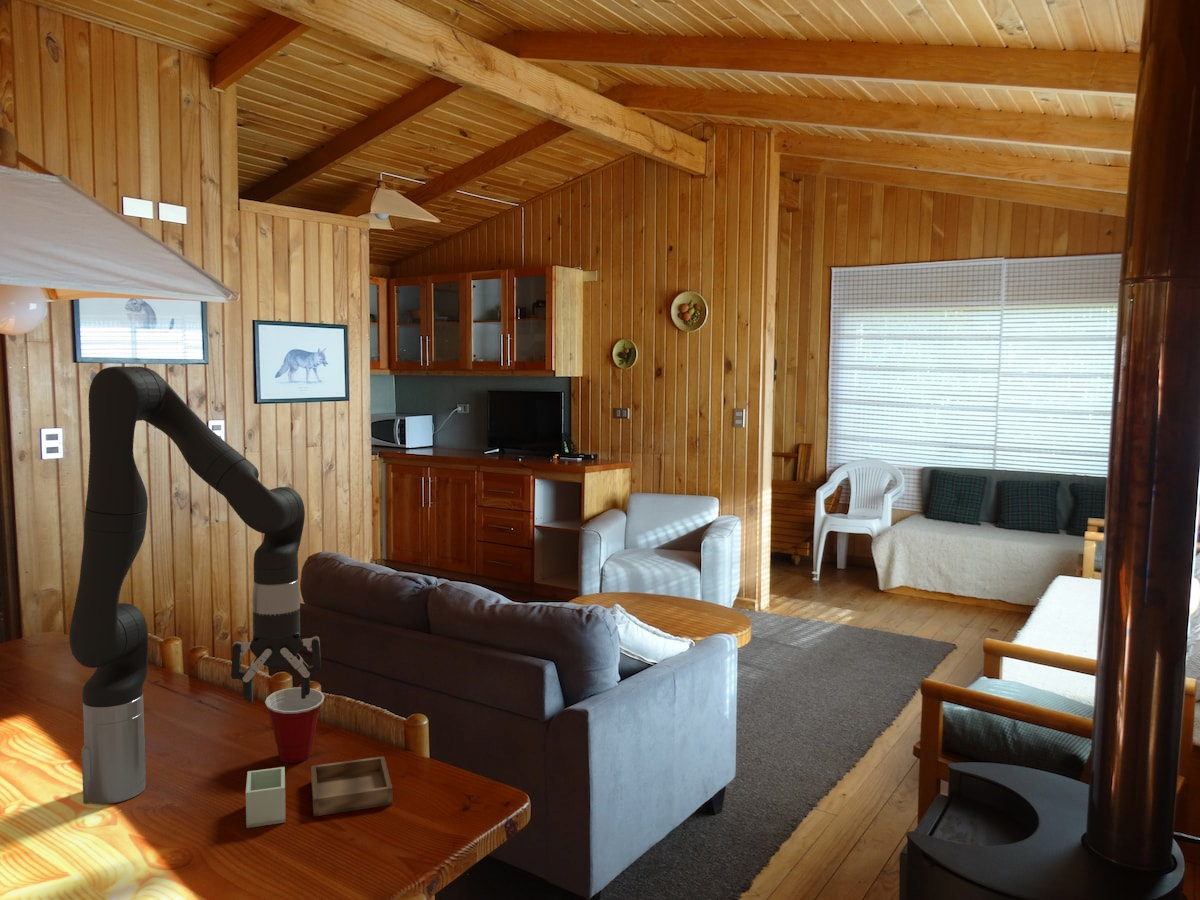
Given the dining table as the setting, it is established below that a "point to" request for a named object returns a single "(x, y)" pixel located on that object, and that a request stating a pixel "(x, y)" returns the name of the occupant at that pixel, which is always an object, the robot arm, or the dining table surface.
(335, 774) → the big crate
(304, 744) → the plastic cup
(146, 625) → the robot arm
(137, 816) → the dining table surface
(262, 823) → the box
